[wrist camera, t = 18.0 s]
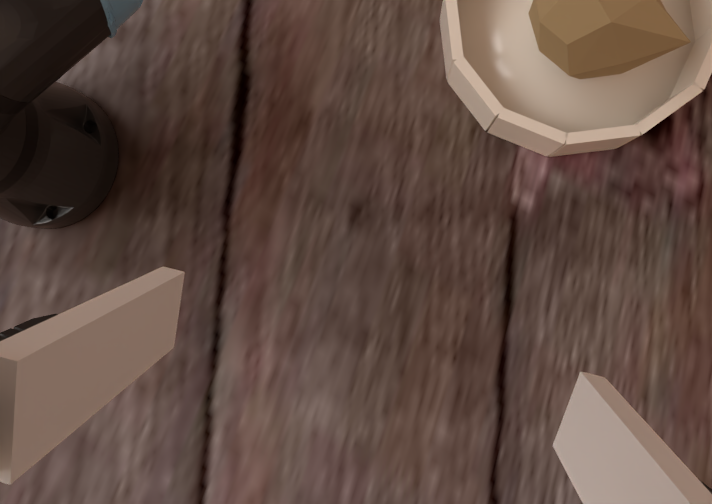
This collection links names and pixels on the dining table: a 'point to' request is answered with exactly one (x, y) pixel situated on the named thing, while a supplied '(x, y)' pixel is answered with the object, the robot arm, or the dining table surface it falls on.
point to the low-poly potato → (603, 34)
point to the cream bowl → (565, 79)
